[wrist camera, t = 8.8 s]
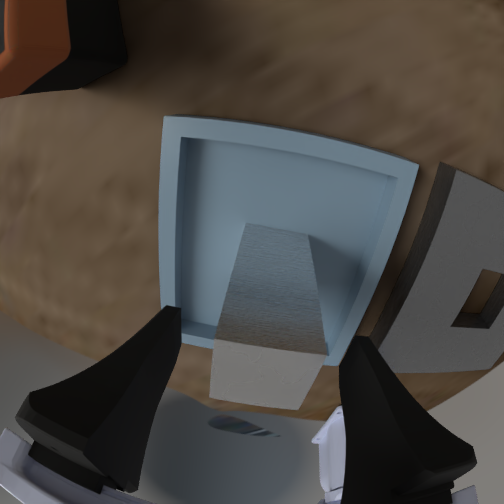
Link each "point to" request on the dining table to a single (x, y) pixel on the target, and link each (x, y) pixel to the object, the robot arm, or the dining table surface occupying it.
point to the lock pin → (269, 323)
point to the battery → (57, 44)
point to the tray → (274, 215)
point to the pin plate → (448, 282)
